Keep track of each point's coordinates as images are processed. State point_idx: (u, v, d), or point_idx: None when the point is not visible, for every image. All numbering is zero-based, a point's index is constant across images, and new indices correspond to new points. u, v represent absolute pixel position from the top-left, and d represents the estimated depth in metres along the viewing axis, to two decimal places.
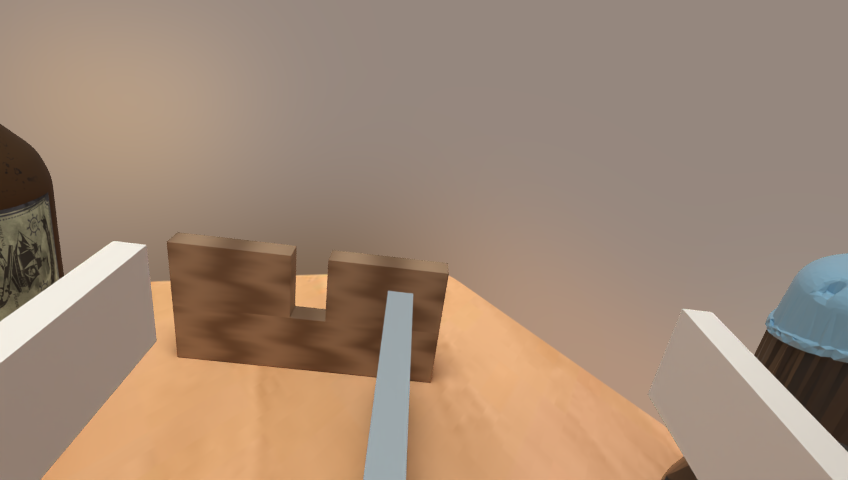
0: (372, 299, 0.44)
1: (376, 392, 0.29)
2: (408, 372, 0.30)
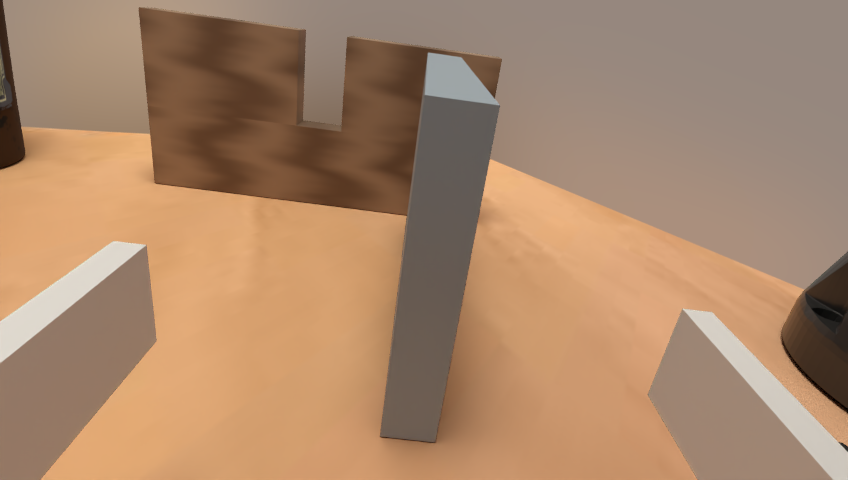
0: (401, 98, 0.34)
1: (429, 71, 0.19)
2: (471, 72, 0.21)
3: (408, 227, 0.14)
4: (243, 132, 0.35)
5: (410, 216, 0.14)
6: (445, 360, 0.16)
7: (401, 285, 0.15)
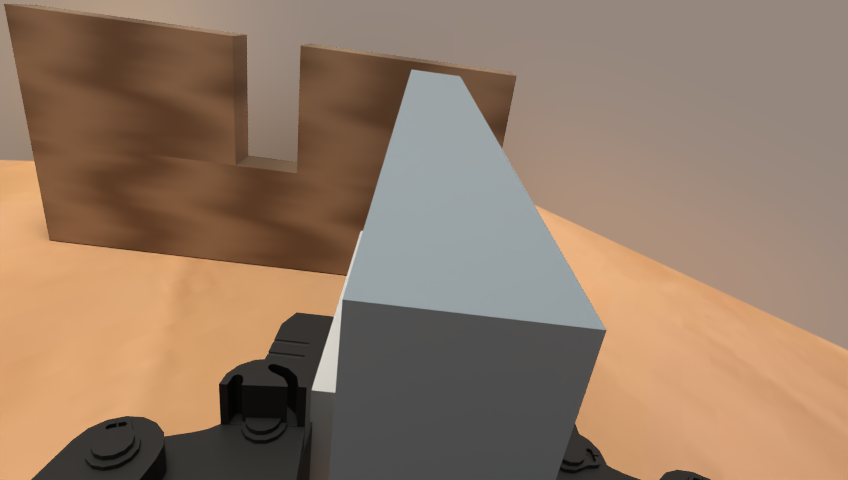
0: (378, 129, 0.25)
1: (399, 127, 0.10)
2: (481, 119, 0.11)
3: None
4: (164, 174, 0.26)
5: None
6: None
7: None
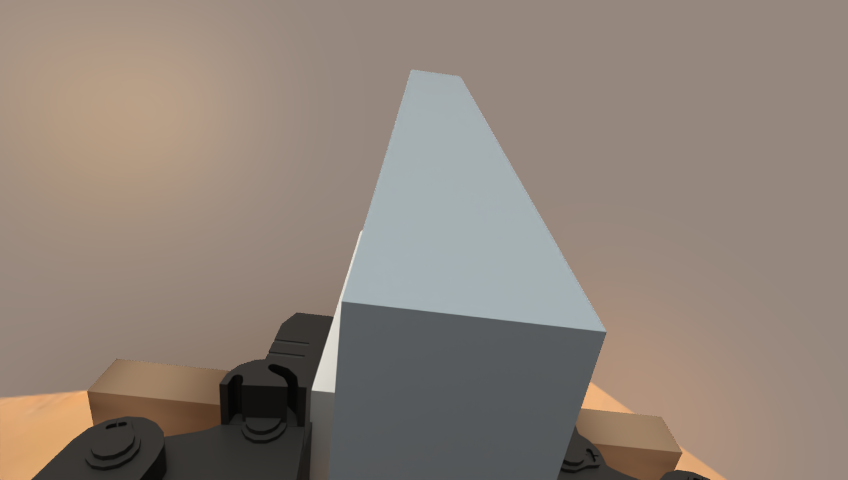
0: None
1: (399, 127, 0.10)
2: (481, 119, 0.11)
3: None
4: None
5: None
6: None
7: None
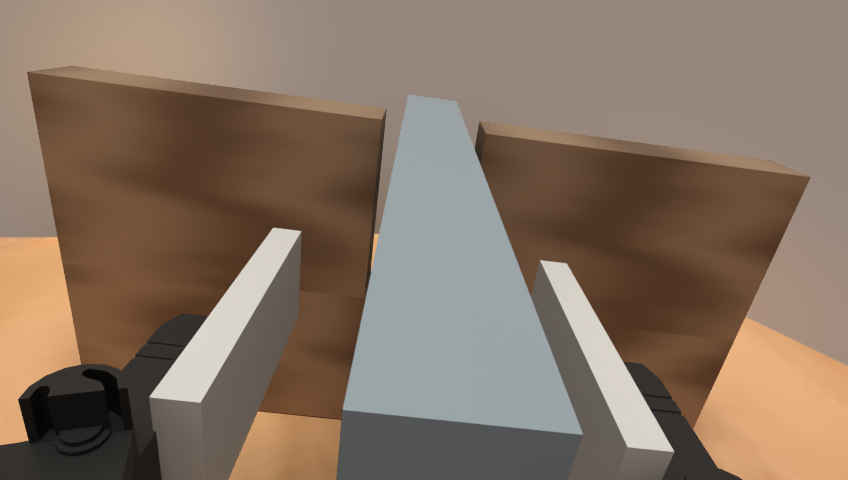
0: (585, 250, 0.17)
1: (396, 177, 0.10)
2: (475, 162, 0.12)
3: None
4: None
5: None
6: None
7: None
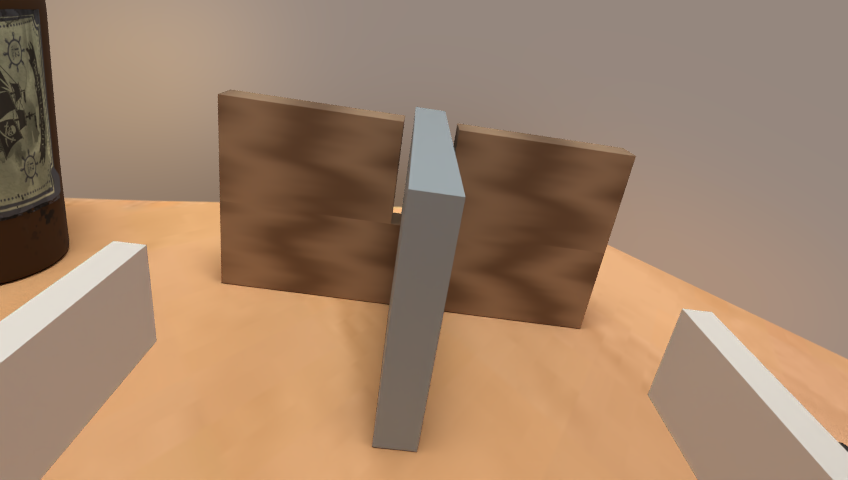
0: (515, 196, 0.30)
1: (414, 146, 0.23)
2: (450, 142, 0.25)
3: (395, 284, 0.19)
4: (328, 230, 0.31)
5: (397, 276, 0.18)
6: (424, 386, 0.21)
7: (390, 328, 0.19)
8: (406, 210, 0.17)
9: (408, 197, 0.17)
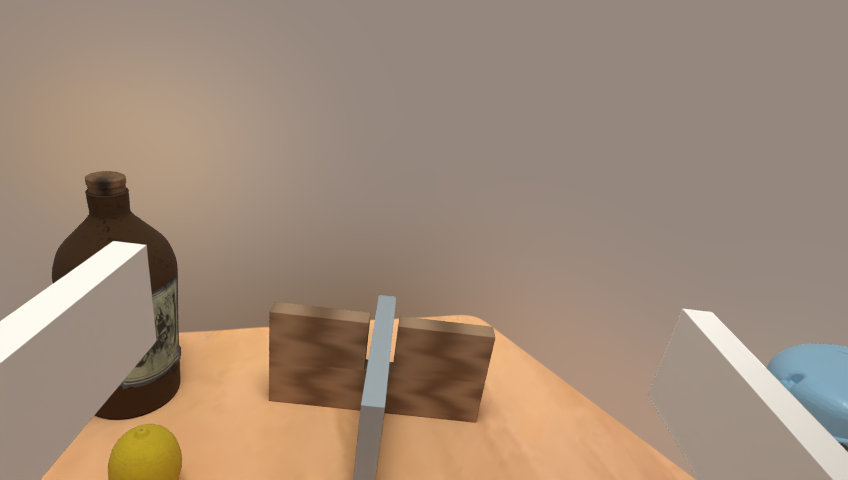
0: (431, 357, 0.54)
1: (369, 357, 0.47)
2: (390, 346, 0.49)
3: None
4: (329, 374, 0.55)
5: (358, 435, 0.43)
6: (373, 478, 0.45)
7: (356, 455, 0.44)
8: (360, 412, 0.42)
9: (361, 407, 0.42)
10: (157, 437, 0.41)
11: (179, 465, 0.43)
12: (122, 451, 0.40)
